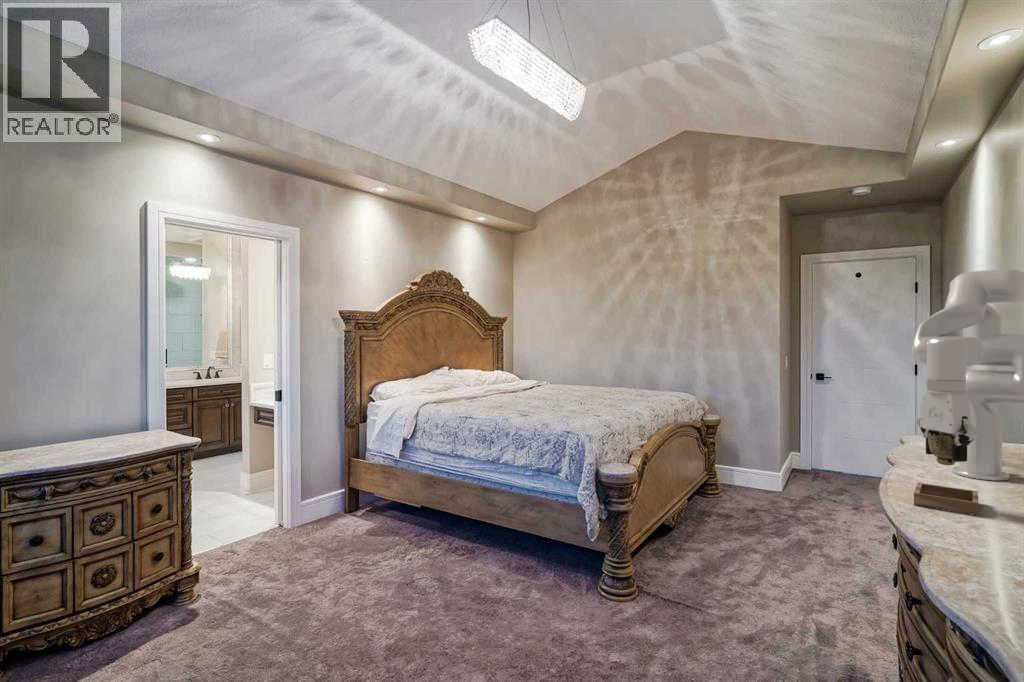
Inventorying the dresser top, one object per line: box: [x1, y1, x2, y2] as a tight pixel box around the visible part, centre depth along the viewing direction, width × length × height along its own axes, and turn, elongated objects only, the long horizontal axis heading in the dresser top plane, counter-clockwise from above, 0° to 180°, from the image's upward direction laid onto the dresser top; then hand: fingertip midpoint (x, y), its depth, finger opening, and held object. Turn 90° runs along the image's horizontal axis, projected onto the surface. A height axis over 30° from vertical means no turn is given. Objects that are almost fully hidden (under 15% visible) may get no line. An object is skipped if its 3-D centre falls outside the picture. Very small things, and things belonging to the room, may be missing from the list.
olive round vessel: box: [927, 431, 963, 466], centre depth 129 cm, size 8×7×8 cm
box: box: [913, 482, 979, 516], centre depth 129 cm, size 12×12×3 cm
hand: (945, 457), depth 129 cm, fingers closed on olive round vessel, 7 cm apart
